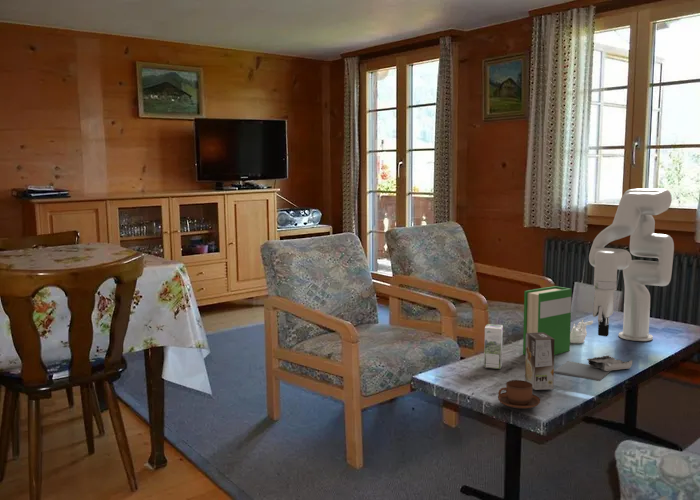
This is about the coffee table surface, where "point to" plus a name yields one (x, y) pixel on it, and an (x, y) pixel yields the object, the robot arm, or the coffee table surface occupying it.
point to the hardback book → (548, 315)
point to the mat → (581, 371)
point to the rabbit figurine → (579, 332)
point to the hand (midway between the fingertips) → (603, 335)
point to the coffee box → (539, 360)
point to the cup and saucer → (518, 395)
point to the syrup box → (493, 346)
